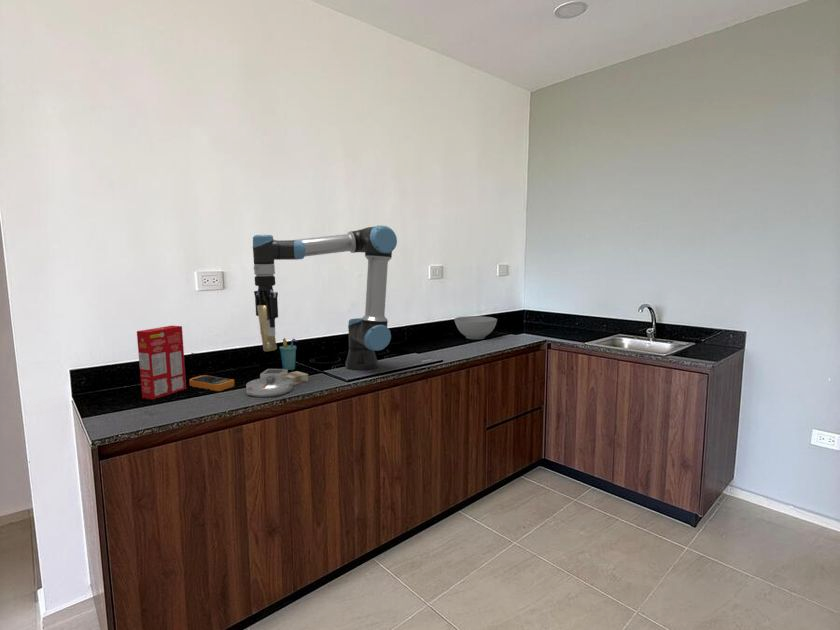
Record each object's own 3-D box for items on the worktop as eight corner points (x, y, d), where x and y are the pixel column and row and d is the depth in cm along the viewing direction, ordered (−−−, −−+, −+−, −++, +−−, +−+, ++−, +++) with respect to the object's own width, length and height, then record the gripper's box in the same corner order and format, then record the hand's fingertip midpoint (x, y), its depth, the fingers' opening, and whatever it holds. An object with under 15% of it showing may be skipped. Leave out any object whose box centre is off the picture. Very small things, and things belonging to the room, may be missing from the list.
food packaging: (176, 387, 183) (171, 325, 179) (186, 388, 181) (181, 326, 178) (142, 398, 169) (136, 331, 166) (152, 399, 167) (147, 332, 164)
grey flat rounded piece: (257, 383, 187) (256, 368, 186) (298, 383, 187) (298, 369, 186) (239, 396, 169) (238, 380, 169) (284, 397, 169) (284, 381, 168)
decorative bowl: (474, 332, 310) (474, 315, 309) (505, 338, 290) (505, 319, 289) (445, 337, 293) (445, 318, 292) (476, 343, 273) (476, 323, 271)
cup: (306, 370, 209) (304, 338, 207) (291, 373, 203) (289, 340, 201) (289, 365, 218) (287, 334, 216) (274, 368, 213) (272, 336, 211)
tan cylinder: (269, 347, 185) (263, 303, 181) (279, 348, 182) (273, 303, 179) (260, 350, 180) (254, 306, 177) (270, 351, 178) (263, 306, 174)
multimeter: (205, 382, 192) (204, 374, 191) (236, 387, 184) (235, 378, 184) (186, 387, 184) (186, 378, 184) (218, 393, 176) (217, 384, 176)
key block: (297, 377, 196) (297, 371, 196) (308, 381, 191) (308, 374, 191) (280, 381, 191) (280, 374, 190) (291, 385, 185) (291, 378, 185)
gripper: (244, 275, 180) (247, 333, 183) (268, 276, 168) (271, 338, 171) (261, 274, 186) (264, 331, 189) (286, 275, 174) (289, 336, 177)
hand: (267, 334), depth 180 cm, fingers closed on tan cylinder, 5 cm apart
